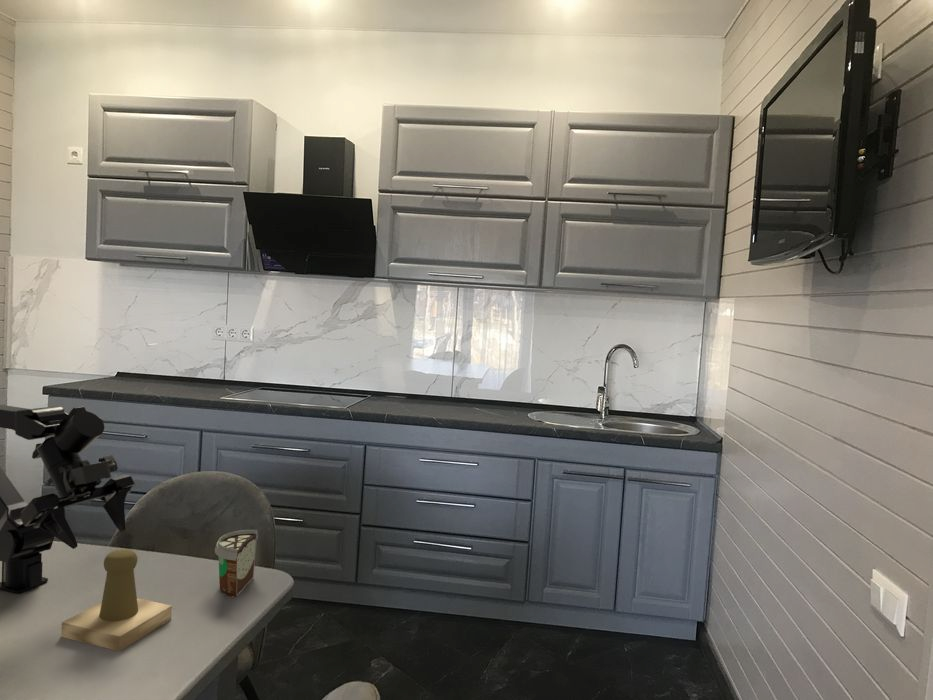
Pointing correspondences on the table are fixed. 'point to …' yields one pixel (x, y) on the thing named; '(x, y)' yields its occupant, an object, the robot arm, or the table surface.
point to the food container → (236, 560)
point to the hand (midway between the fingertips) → (100, 539)
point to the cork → (119, 586)
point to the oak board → (115, 625)
